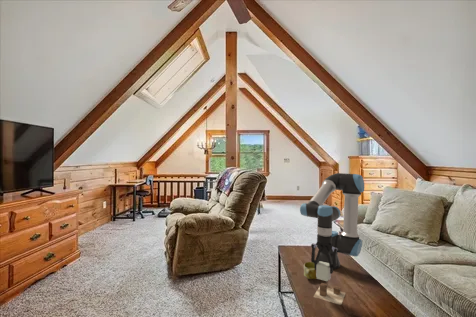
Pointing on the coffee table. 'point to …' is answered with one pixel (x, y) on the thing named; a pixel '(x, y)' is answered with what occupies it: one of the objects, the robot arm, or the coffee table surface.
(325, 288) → the tall post
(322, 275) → the pale green block
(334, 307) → the coffee table surface
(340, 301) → the board
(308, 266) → the mug
